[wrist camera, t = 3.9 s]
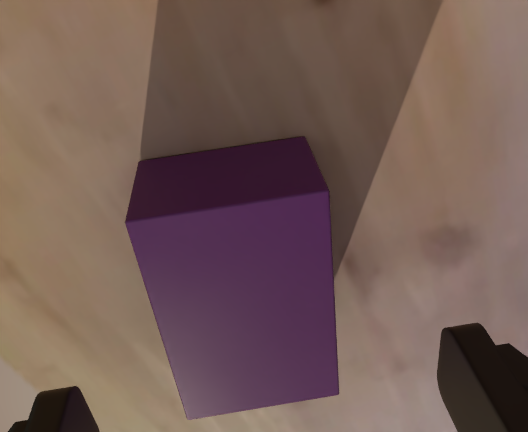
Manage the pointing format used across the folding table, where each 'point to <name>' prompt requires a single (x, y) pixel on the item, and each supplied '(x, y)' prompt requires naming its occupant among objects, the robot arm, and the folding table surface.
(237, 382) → the block
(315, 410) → the folding table surface
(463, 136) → the folding table surface
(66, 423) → the robot arm
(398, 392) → the folding table surface
